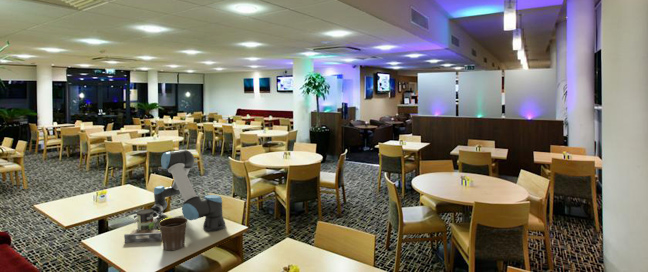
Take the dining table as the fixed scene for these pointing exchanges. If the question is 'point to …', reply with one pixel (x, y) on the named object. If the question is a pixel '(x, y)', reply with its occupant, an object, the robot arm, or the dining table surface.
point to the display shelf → (143, 236)
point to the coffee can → (145, 219)
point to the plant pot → (173, 233)
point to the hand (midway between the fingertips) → (144, 221)
